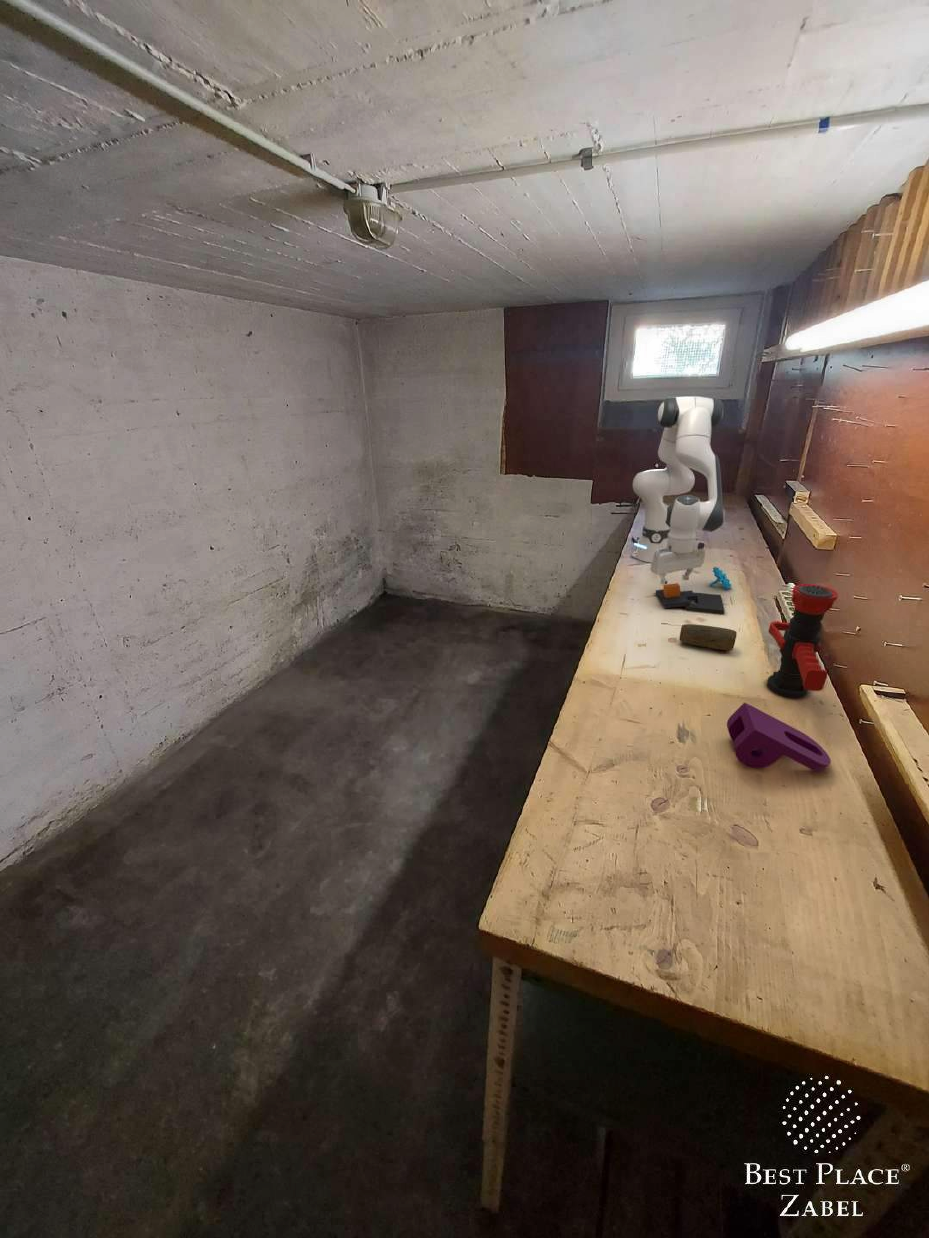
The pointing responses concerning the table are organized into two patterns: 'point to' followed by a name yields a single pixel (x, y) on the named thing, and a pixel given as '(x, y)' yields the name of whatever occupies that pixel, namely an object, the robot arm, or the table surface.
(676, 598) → the pad
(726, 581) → the gear
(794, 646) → the fire hose nozzle
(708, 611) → the socket pad
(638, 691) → the table surface
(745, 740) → the mounting bracket
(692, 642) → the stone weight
